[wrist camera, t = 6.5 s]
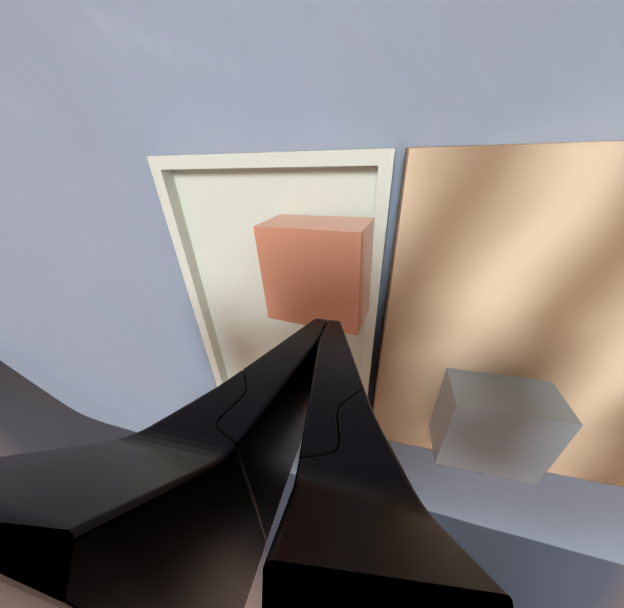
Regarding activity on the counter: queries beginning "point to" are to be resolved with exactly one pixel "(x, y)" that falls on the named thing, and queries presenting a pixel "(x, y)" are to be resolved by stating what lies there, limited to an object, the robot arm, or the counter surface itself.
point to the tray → (241, 240)
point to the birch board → (510, 287)
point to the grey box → (500, 425)
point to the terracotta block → (316, 268)
